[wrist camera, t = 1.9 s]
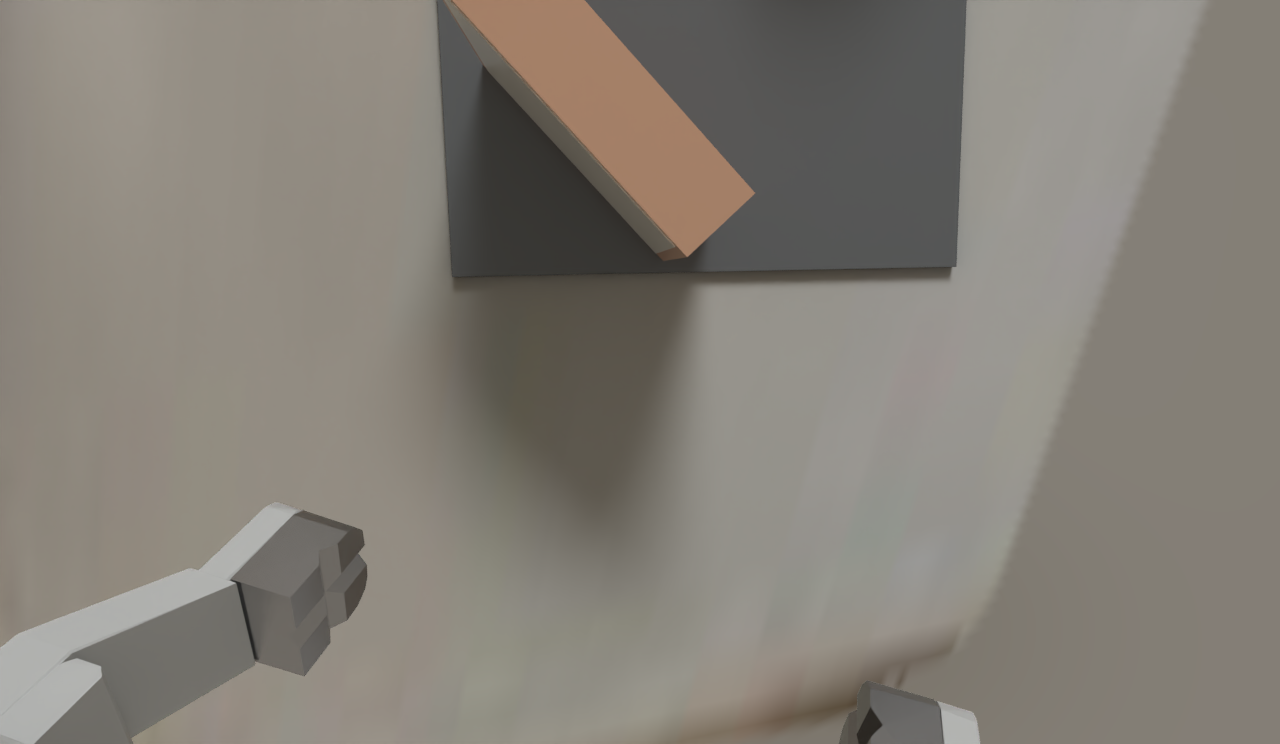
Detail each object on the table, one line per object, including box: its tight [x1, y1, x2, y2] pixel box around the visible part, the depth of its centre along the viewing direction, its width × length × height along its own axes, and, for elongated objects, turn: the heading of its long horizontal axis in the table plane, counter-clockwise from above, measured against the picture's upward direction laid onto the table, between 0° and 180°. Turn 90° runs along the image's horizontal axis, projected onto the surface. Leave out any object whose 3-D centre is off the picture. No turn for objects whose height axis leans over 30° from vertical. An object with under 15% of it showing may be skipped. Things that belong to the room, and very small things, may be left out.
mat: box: [437, 0, 966, 277], centre depth 34 cm, size 24×20×1 cm
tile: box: [443, 0, 755, 261], centre depth 29 cm, size 3×12×11 cm, turn 43°
